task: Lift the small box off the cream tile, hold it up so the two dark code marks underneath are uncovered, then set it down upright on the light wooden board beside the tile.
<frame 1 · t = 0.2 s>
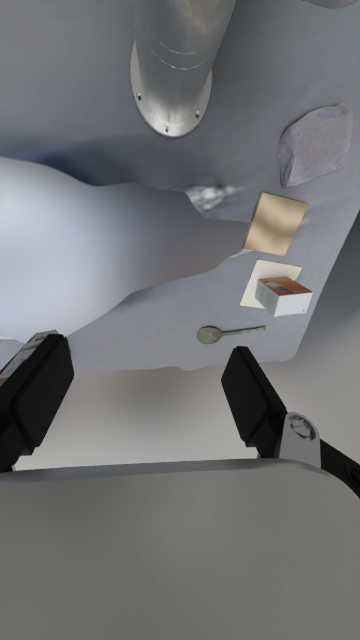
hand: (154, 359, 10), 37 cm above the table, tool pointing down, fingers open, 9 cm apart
wooden board: (272, 226, 42), on the table
small box: (269, 286, 50), resting on code tile
code tile: (269, 286, 50), on the table
coffee box: (54, 343, 53), on the table
soupspoon: (229, 330, 58), on the table
stone block: (307, 149, 35), on the table
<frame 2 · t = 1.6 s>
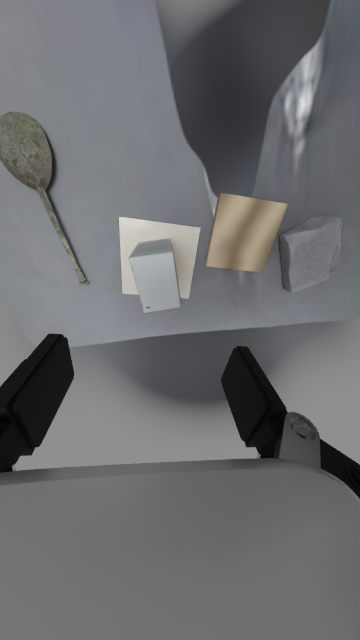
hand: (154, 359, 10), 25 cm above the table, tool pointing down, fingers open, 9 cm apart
wooden board: (241, 236, 31), on the table
small box: (158, 263, 32), resting on code tile
code tile: (158, 262, 33), on the table
soupspoon: (57, 215, 28), on the table
stone block: (304, 252, 34), on the table
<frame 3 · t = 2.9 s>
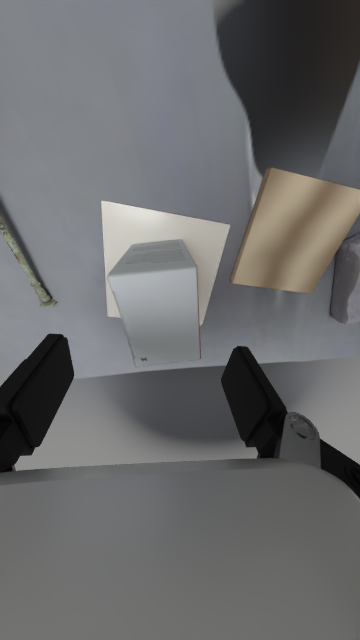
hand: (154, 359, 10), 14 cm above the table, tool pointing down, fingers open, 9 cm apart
wooden board: (289, 241, 21), on the table
small box: (162, 275, 22), resting on code tile
code tile: (162, 275, 22), on the table
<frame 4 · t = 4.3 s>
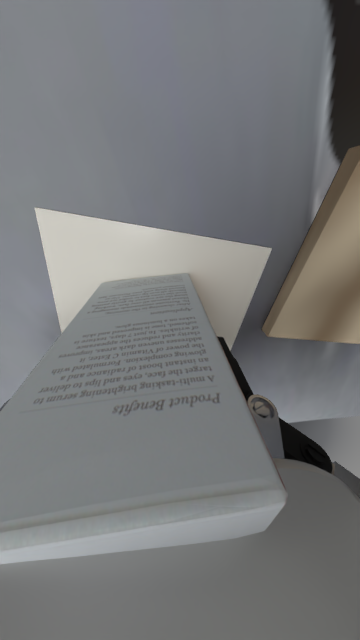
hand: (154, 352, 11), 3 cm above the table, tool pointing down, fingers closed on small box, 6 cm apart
small box: (155, 326, 13), resting on code tile, touching gripper
code tile: (155, 325, 13), on the table
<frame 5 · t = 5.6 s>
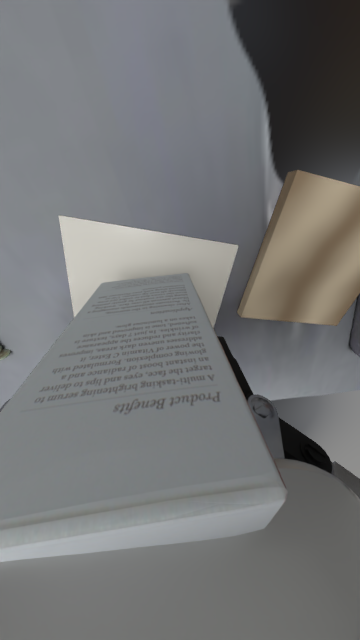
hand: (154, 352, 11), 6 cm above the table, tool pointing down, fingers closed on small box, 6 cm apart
wooden board: (313, 263, 16), on the table
small box: (155, 326, 13), point 4 cm above the table, touching gripper
code tile: (149, 309, 17), on the table
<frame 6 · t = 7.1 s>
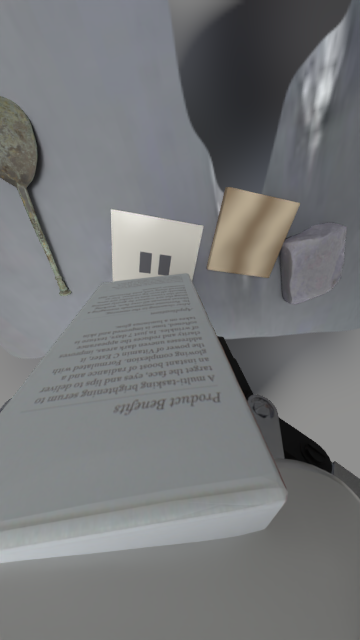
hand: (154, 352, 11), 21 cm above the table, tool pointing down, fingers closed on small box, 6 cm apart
wooden board: (248, 237, 28), on the table
small box: (155, 326, 13), point 18 cm above the table, touching gripper
code tile: (155, 263, 29), on the table
soupspoon: (39, 216, 25), on the table
stone block: (305, 262, 32), on the table
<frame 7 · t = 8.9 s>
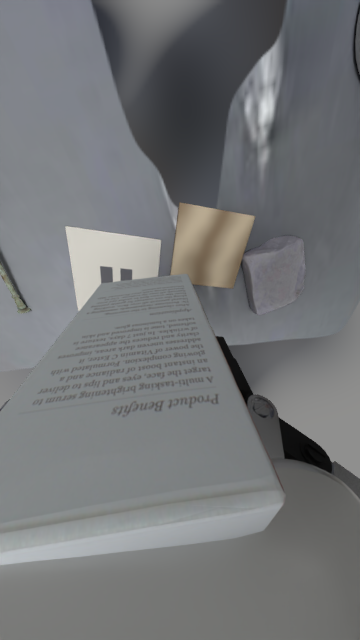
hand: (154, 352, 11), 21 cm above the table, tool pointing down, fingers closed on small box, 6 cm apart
wooden board: (208, 250, 29), on the table
small box: (154, 326, 13), point 18 cm above the table, touching gripper
code tile: (116, 277, 29), on the table
stone block: (269, 273, 32), on the table
when the fingers open (5 cm above the table, at t = 13.1 s): small box drops 1 cm, resting on wooden board.
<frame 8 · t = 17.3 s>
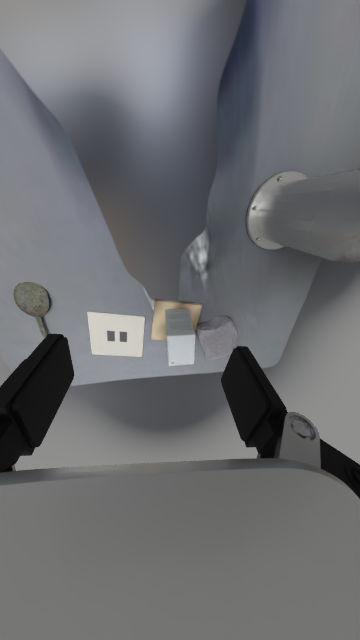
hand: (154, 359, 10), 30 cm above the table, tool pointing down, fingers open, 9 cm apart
wooden board: (175, 320, 45), on the table
small box: (176, 322, 45), point 1 cm above the table, touching wooden board
code tile: (117, 336, 46), on the table
soupspoon: (45, 324, 43), on the table
stone block: (216, 334, 50), on the table
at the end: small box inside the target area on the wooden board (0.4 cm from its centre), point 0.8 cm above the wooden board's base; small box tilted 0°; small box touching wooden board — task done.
